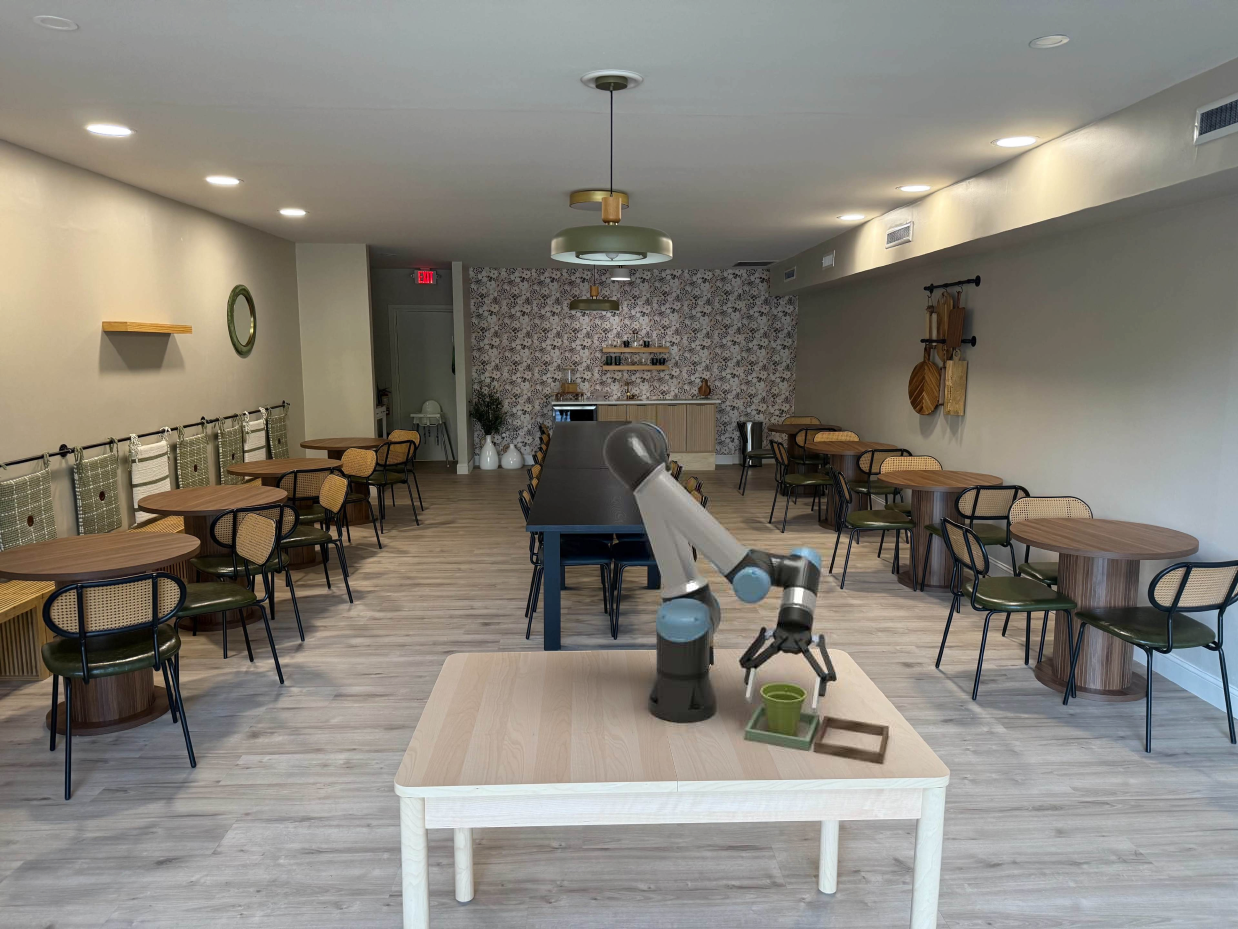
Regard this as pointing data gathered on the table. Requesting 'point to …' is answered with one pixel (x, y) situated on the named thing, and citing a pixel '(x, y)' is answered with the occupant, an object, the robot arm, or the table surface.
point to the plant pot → (783, 707)
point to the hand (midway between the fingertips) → (781, 705)
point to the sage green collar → (778, 738)
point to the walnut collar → (847, 750)
